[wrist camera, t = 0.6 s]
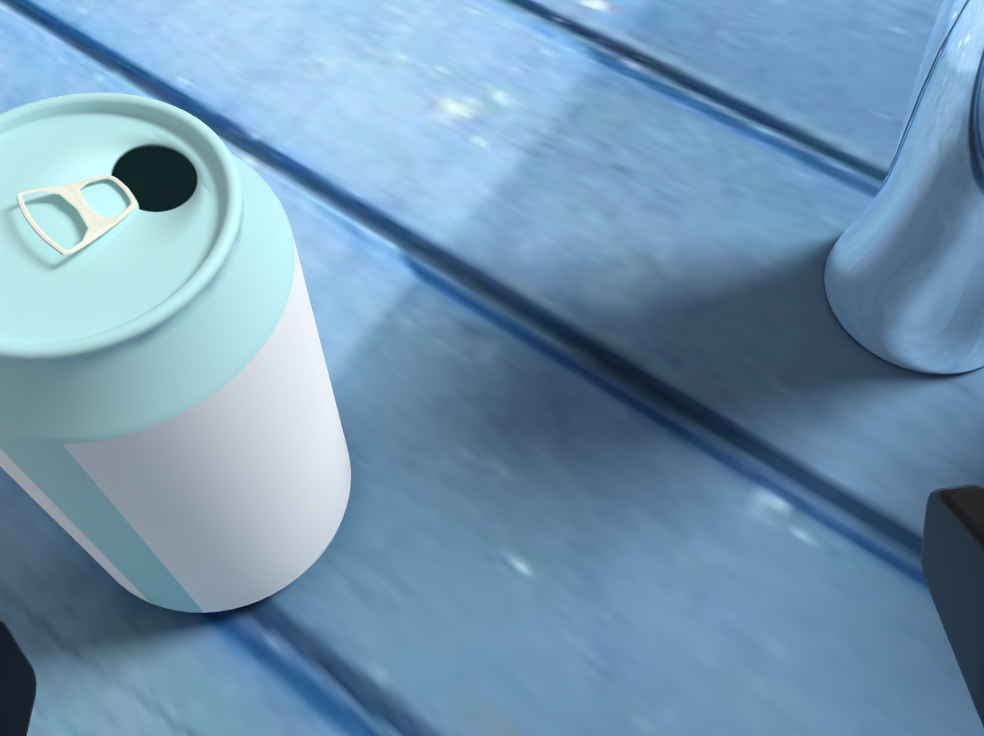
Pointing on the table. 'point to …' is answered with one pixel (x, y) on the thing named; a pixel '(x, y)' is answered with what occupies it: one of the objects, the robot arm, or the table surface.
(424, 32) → the table surface
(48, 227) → the can
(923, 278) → the beer glass
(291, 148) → the table surface
